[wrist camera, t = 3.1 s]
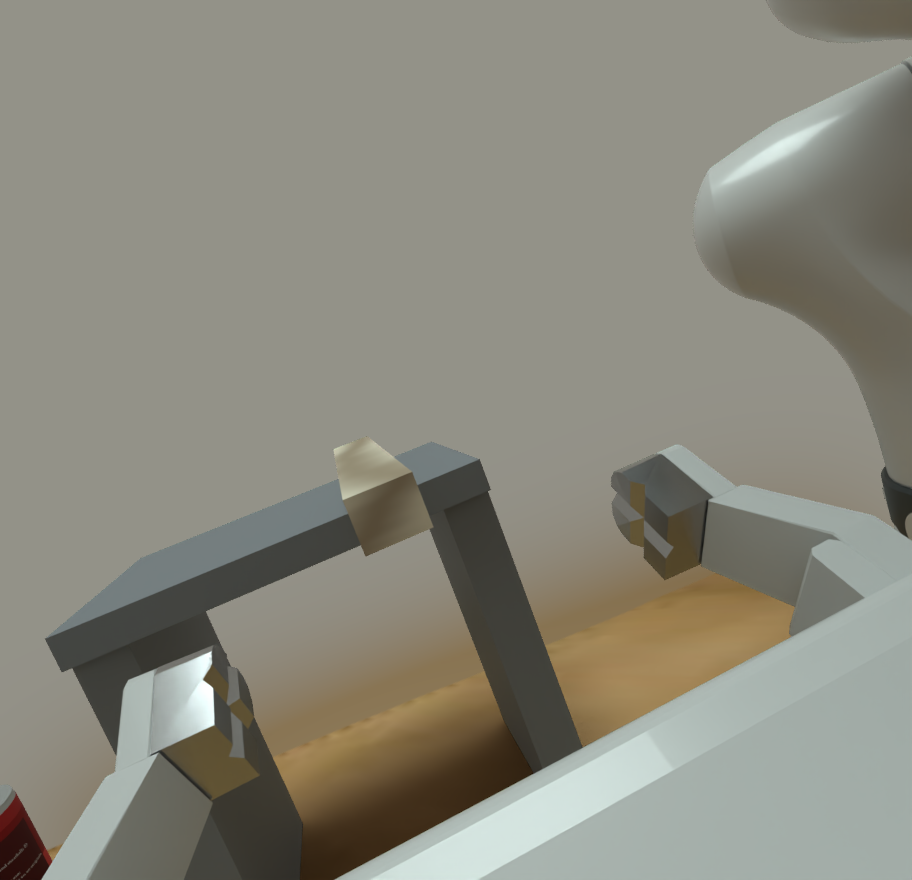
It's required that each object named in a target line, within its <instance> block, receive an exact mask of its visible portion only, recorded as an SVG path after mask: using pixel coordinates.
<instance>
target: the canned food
mask: <svg viewBox="0 0 912 880" xmlns="http://www.w3.org/2000/svg"><path fill="white" fill-rule="evenodd" d="M52 862H53V861H52V859H51V857H50V856H49V854H48V852H47V850H46V848H45V846H44V844H43V842H42V840H41V839H40V837H39V835H38V833H37V831H36V829H35V827H34V825H33V823H32V821H31V820H30V818H29V816H28V814H27V812H26V811H25V808H24V806H23V804H22V803H21V801H20V799H19V798H18V796H17V794H16V792H15V791H14V790H13V789H12V787H11V786H10V785H1V786H0V880H41V879H42V878H43V876H44V875H45V873H46V871H47V870H48V868H49V867H50V865H51V863H52Z"/></svg>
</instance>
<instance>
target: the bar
mask: <svg viewBox="0 0 912 880" xmlns="http://www.w3.org/2000/svg"><path fill="white" fill-rule="evenodd" d="M334 455H335V461H336V466H337V472H338V477H339V483H340V489H341V494H342V500H343V502H344V505H345V507H346V510H347V512H348V515H349V517H350V519H351V522H352V524H353V527H354V529H355V532H356V534H357V537H358V539H359V541H360V544H361V546H362V549H363V551H364V554H365V556H368V555H370V554H373V553H375V552H377V551H379V550H382V549H384V548H386V547H389V546H391V545H393V544H396V543H398V542H400V541H403V540H405V539H407V538H410V537H412V536H414V535H416V534H419V533H421V532H424V531H426V530H428V529H431V528H433V524H432V522H431V519H430V517H429V514H428V511H427V509H426V506H425V504H424V501H423V498H422V496H421V493H420V491H419V488H418V486H417V483H416V480H415V478H414V475H413V473H412V471H411V470H409V469H408V468H407V467H405V466H404V465H403V464H402V463H400V462H399V461H398V460H397V459H395V458H394V457H393V456H391V455H390V454H389V453H388V452H386V451H385V450H384V449H383V448H381V447H380V446H379V445H377V444H376V443H375V442H374V441H372V440H371V439H370V438H369V437H367V436H366V437H364V438H361V439H358V440H356V441H354V442H351V443H348V444H346V445H343V446H340V447H338V448H336V449H334Z"/></svg>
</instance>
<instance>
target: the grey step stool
mask: <svg viewBox="0 0 912 880" xmlns="http://www.w3.org/2000/svg"><path fill="white" fill-rule="evenodd" d="M394 458H395V459H397V460H398V461H399V462H400V463H402V464H403V465H404V466H405V467H407V468H408V469H409V470H411V471H412V473H413V475H414V478H415V480H416V483H417V486H418V488H419V491H420V493H421V496H422V498H423V501H424V504H425V506H426V509H427V511H428V514H429V517H430V519H431V522H432V524H433V528H431V529H430V532H431V534H432V536H433V539H434V542H435V544H436V547H437V550H438V552H439V555H440V557H441V560H442V562H443V565H444V568H445V570H446V573H447V575H448V578H449V580H450V583H451V586H452V588H453V591H454V593H455V596H456V598H457V601H458V603H459V606H460V609H461V611H462V614H463V616H464V619H465V622H466V624H467V627H468V629H469V632H470V634H471V637H472V640H473V642H474V644H475V647H476V650H477V652H478V655H479V657H480V660H481V663H482V665H483V668H484V670H485V673H486V676H487V678H488V681H489V683H490V686H491V688H492V691H493V694H494V696H495V699H496V701H497V704H498V706H499V709H500V712H501V714H502V717H503V719H504V721H505V723H506V725H507V727H508V729H509V730H510V732H511V734H512V736H513V737H514V739H515V741H516V743H517V745H518V746H519V748H520V750H521V752H522V753H523V755H524V757H525V759H526V761H527V762H528V764H529V766H530V768H531V769H532V771H533V773H536V772H538V771H540V770H542V769H544V768H545V767H547V766H549V765H551V764H553V763H555V762H557V761H559V760H560V759H562V758H564V757H566V756H568V755H570V754H572V753H574V752H576V751H577V750H579V749H581V748H582V745H581V742H580V740H579V737H578V734H577V731H576V729H575V726H574V723H573V721H572V718H571V715H570V712H569V710H568V707H567V704H566V702H565V699H564V696H563V694H562V691H561V688H560V685H559V683H558V680H557V677H556V675H555V672H554V669H553V666H552V664H551V661H550V658H549V656H548V653H547V650H546V648H545V645H544V642H543V639H542V637H541V634H540V631H539V629H538V626H537V623H536V620H535V618H534V615H533V612H532V610H531V607H530V604H529V602H528V599H527V596H526V593H525V591H524V588H523V585H522V583H521V580H520V578H519V575H518V572H517V569H516V566H515V564H514V561H513V558H512V556H511V553H510V550H509V548H508V545H507V542H506V540H505V537H504V534H503V531H502V529H501V526H500V523H499V520H498V518H497V515H496V512H495V510H494V507H493V504H492V502H491V499H490V496H489V493H488V491H489V490H491V489H490V486H489V484H488V481H487V478H486V476H485V473H484V470H483V467H482V465H481V462H480V459H477V458H474V457H472V456H469V455H466V454H464V453H461V452H458V451H455V450H452V449H450V448H447V447H444V446H441V445H439V444H436V443H433V442H430V443H427V444H425V445H422V446H420V447H417V448H415V449H412V450H410V451H408V452H405V453H402V454H400V455H397V456H395V457H394ZM360 545H361V544H360V541H359V539H358V537H357V534H356V532H355V529H354V527H353V524H352V522H351V519H350V517H349V515H348V512H347V510H346V507H345V505H344V502H343V500H342V494H341V489H340V483H339V479H337V480H335V481H332V482H330V483H328V484H325V485H322V486H320V487H318V488H315V489H313V490H310V491H308V492H305V493H302V494H300V495H298V496H295V497H292V498H290V499H287V500H285V501H283V502H280V503H277V504H275V505H272V506H270V507H267V508H265V509H262V510H260V511H258V512H255V513H253V514H250V515H248V516H245V517H243V518H240V519H237V520H235V521H233V522H230V523H227V524H225V525H222V526H220V527H218V528H215V529H212V530H210V531H207V532H205V533H203V534H200V535H198V536H195V537H193V538H190V539H187V540H185V541H183V542H180V543H178V544H175V545H173V546H170V547H168V548H165V549H163V550H160V551H158V552H155V553H153V554H150V555H148V556H145V557H143V558H140V559H139V560H138V561H137V562H136V563H135V564H133V565H132V566H131V567H130V568H129V569H127V570H126V571H125V572H124V573H123V574H122V575H120V576H119V577H118V578H117V579H116V580H114V581H113V582H112V583H111V584H110V585H109V586H107V587H106V588H105V589H104V590H102V591H101V592H100V593H99V594H98V595H97V596H95V597H94V598H93V599H92V600H91V601H90V602H88V603H87V604H86V605H85V606H83V607H82V608H81V609H80V610H79V611H78V612H76V613H75V614H74V615H73V616H72V617H70V618H69V619H68V620H67V621H66V622H65V623H63V624H62V625H61V626H60V627H59V628H57V629H56V630H55V631H54V632H53V633H51V634H50V635H49V636H48V637H47V638H46V639H45V640H46V642H47V644H48V646H49V648H50V650H51V652H52V654H53V656H54V658H55V660H56V661H57V664H58V666H59V667H60V670H61V672H64V671H66V670H68V669H71V668H73V670H74V673H75V675H76V677H77V679H78V681H79V683H80V684H81V686H82V689H83V691H84V692H85V694H86V697H87V698H88V701H89V702H90V704H91V706H92V708H93V710H94V712H95V714H96V716H97V718H98V720H99V722H100V724H101V726H102V728H103V730H104V732H105V734H106V736H107V738H108V740H109V742H110V744H111V746H112V748H113V750H114V752H115V754H116V756H117V746H118V736H119V726H120V717H121V707H122V697H123V690H124V687H125V685H126V683H127V682H128V680H130V679H132V678H135V677H137V676H139V675H142V674H144V673H147V672H149V671H152V670H154V669H157V668H158V667H160V666H163V665H165V664H168V663H170V662H173V661H175V660H178V659H180V658H183V657H185V656H188V655H190V654H193V653H195V652H198V651H200V650H202V649H205V648H207V647H210V646H212V645H217V644H218V645H219V646H220V647H221V648H222V646H221V644H220V642H219V640H218V638H217V635H216V633H215V631H214V629H213V627H212V624H211V623H210V620H209V618H208V616H207V613H206V611H207V610H210V609H212V608H214V607H217V606H219V605H221V604H223V603H226V602H228V601H231V600H233V599H235V598H238V597H240V596H243V595H245V594H247V593H250V592H252V591H254V590H256V589H259V588H261V587H264V586H266V585H268V584H271V583H273V582H275V581H278V580H280V579H282V578H285V577H287V576H290V575H292V574H294V573H297V572H299V571H301V570H304V569H306V568H308V567H311V566H313V565H315V564H318V563H320V562H322V561H325V560H327V559H329V558H332V557H334V556H336V555H339V554H341V553H343V552H346V551H348V550H351V549H353V548H355V547H358V546H360ZM222 650H223V648H222ZM223 651H224V650H223ZM227 666H230V664H229V662H228V659H227ZM230 667H231V666H230ZM248 730H249V731H250V732H251V734H252V735H253V736H254V737H255V739H256V740H257V750H258V760H259V770H260V776H258V777H256V778H254V779H252V780H250V781H248V782H246V783H244V784H242V785H240V786H239V787H237V788H235V789H233V790H231V791H229V792H227V793H225V794H223V795H221V796H219V797H217V798H215V799H213V800H211V801H212V802H213V804H212V807H211V810H210V812H209V815H208V817H207V820H206V823H205V825H204V828H203V831H202V833H201V836H200V838H199V841H198V844H197V846H196V849H195V851H194V854H193V857H192V859H191V862H190V865H189V867H188V870H187V872H186V875H185V878H184V880H300V866H301V847H302V828H303V823H302V821H301V818H300V816H299V814H298V812H297V810H296V808H295V805H294V803H293V801H292V799H291V797H290V794H289V792H288V790H287V788H286V786H285V784H284V781H283V779H282V777H281V775H280V773H279V770H278V768H277V766H276V764H275V762H274V760H273V757H272V755H271V753H270V751H269V749H268V747H267V744H266V742H265V740H264V738H263V736H262V734H261V731H260V729H259V727H258V725H257V723H256V720H255V718H253V720H252V722H251V724H250V726H249V728H248Z"/></svg>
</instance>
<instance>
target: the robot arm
mask: <svg viewBox="0 0 912 880" xmlns="http://www.w3.org/2000/svg"><path fill="white" fill-rule="evenodd" d="M766 1H767V4H768V6H769V7H770V9H771V11H772V13H773V14H774V15H775V17H776V18H777V19H778V20H779V21H780V22H781V23H782V24H784V25H785V26H786V27H787V28H788V29H790V30H792V31H794V32H795V33H797V34H800V35H803V36H805V37H809V38H813V39H817V40H822V41H826V42H836V43H860V42H871V41H882V40H895V39H905V40H912V0H766ZM693 233H694V239H695V244H696V247H697V251H698V253H699V255H700V257H701V260H702V262H703V264H704V265H705V267H706V268H707V270H708V271H709V272H710V274H711V275H712V276H713V277H714V278H715V279H716V280H717V281H718V282H719V283H720V284H721V285H723V286H724V287H726V288H727V289H729V290H730V291H732V292H734V293H736V294H738V295H740V296H742V297H745V298H748V299H752V300H756V301H760V302H763V303H765V304H769V305H771V306H774V307H776V308H779V309H781V310H783V311H785V312H787V313H789V314H791V315H793V316H795V317H797V318H798V319H800V320H802V321H803V322H805V323H806V324H808V325H809V326H811V327H812V328H813V329H815V330H816V331H817V332H818V333H820V334H821V335H822V336H823V337H824V338H825V339H826V340H827V341H828V342H829V343H830V344H831V345H832V346H833V347H834V348H835V349H836V350H837V351H838V353H839V354H840V355H841V356H842V358H843V359H844V360H845V362H846V363H847V365H848V366H849V368H850V370H851V371H852V373H853V375H854V377H855V379H856V381H857V383H858V385H859V388H860V390H861V392H862V395H863V397H864V400H865V402H866V405H867V408H868V410H869V413H870V416H871V419H872V422H873V425H874V428H875V431H876V434H877V437H878V440H879V444H880V448H881V451H882V455H883V458H884V462H885V467H884V469H883V470H882V473H881V478H882V483H883V487H884V488H882V489H883V494H884V499H886V501H887V505H888V509H889V513H890V517H891V520H892V522H893V523H894V529H893V528H892V527H890V526H889V525H887V524H886V523H884V522H883V521H881V520H880V519H878V518H877V517H875V516H873V515H870V514H865V513H861V512H857V511H852V510H848V509H844V508H840V507H835V506H831V505H827V504H823V503H819V502H814V501H810V500H806V499H802V498H798V497H794V496H789V495H785V494H781V493H777V492H772V491H768V490H764V489H760V488H756V487H751V486H747V485H741V486H738V487H736V486H735V485H734V484H732V483H731V482H730V481H728V480H727V479H725V478H724V477H723V476H722V475H720V474H719V473H718V472H716V471H715V470H714V469H712V468H711V467H710V466H709V465H707V464H706V463H705V462H703V461H702V460H701V459H700V458H698V457H697V456H696V455H694V454H693V453H692V452H690V451H689V450H688V449H686V448H685V447H684V446H681V445H678V444H676V445H674V446H672V447H669V448H667V449H665V450H663V451H660V452H658V453H656V454H653V455H651V456H648V457H646V458H644V459H642V460H639V461H637V462H635V463H633V464H630V465H628V466H626V467H624V468H621V469H619V470H617V471H615V472H614V473H613V475H612V477H611V482H612V483H611V484H612V485H611V486H612V488H613V489H614V490H615V491H616V492H617V494H616V496H615V498H614V500H613V502H612V511H613V516H614V519H615V521H616V524H617V526H618V528H619V529H620V531H621V533H622V534H623V535H624V537H625V538H626V539H627V540H628V541H629V542H630V543H631V544H634V545H637V546H640V547H644V559H645V560H646V561H647V562H648V563H649V564H650V565H651V566H652V567H653V568H654V569H655V570H656V571H657V572H658V573H659V574H660V576H661V577H662V578H663V579H664V580H666V579H669V578H671V577H673V576H675V575H678V574H680V573H682V572H684V571H687V570H689V569H691V568H693V567H696V566H698V565H700V564H701V566H702V567H704V568H706V569H709V570H711V571H713V572H715V573H718V574H720V575H722V576H725V577H727V578H729V579H732V580H734V581H736V582H739V583H741V584H743V585H746V586H748V587H750V588H752V589H755V590H757V591H759V592H762V593H764V594H766V595H769V596H771V597H773V598H776V599H778V600H780V601H783V602H785V603H787V604H790V605H792V606H794V607H795V609H794V613H793V616H792V620H791V623H790V630H789V634H790V635H791V636H792V637H791V638H789V639H787V640H785V641H783V642H781V643H779V644H777V645H775V646H774V647H772V648H770V649H768V650H766V651H764V652H762V653H760V654H758V655H757V656H755V657H753V658H751V659H749V660H747V661H745V662H743V663H742V664H740V665H738V666H736V667H734V668H732V669H730V670H728V671H726V672H725V673H723V674H721V675H719V676H717V677H715V678H713V679H711V680H709V681H708V682H706V683H704V684H702V685H700V686H698V687H696V688H694V689H692V690H691V691H689V692H687V693H685V694H683V695H681V696H679V697H677V698H675V699H674V700H672V701H670V702H668V703H666V704H664V705H662V706H660V707H659V708H657V709H655V710H653V711H651V712H649V713H647V714H645V715H643V716H642V717H640V718H638V719H636V720H634V721H632V722H630V723H628V724H626V725H625V726H623V727H621V728H619V729H617V730H615V731H613V732H611V733H609V734H608V735H606V736H604V737H602V738H600V739H598V740H596V741H594V742H593V743H591V744H589V745H587V746H585V747H583V748H581V749H579V750H577V751H576V752H574V753H572V754H570V755H568V756H566V757H564V758H562V759H560V760H559V761H557V762H555V763H553V764H551V765H549V766H547V767H545V768H544V769H542V770H540V771H538V772H536V773H534V774H532V775H530V776H528V777H527V778H525V779H523V780H521V781H519V782H517V783H515V784H513V785H512V786H510V787H508V788H506V789H504V790H502V791H500V792H498V793H496V794H495V795H493V796H491V797H489V798H487V799H485V800H483V801H481V802H480V803H478V804H476V805H474V806H472V807H470V808H468V809H466V810H464V811H463V812H461V813H459V814H457V815H455V816H453V817H451V818H449V819H448V820H446V821H444V822H442V823H440V824H438V825H436V826H434V827H433V828H431V829H429V830H427V831H425V832H423V833H421V834H419V835H417V836H416V837H414V838H412V839H410V840H408V841H406V842H404V843H402V844H401V845H399V846H397V847H395V848H393V849H391V850H389V851H387V852H385V853H384V854H382V855H380V856H378V857H376V858H374V859H372V860H370V861H369V862H367V863H365V864H363V865H361V866H359V867H357V868H355V869H353V870H352V871H350V872H348V873H346V874H344V875H342V876H340V877H338V878H337V879H335V880H912V56H911V57H909V58H908V59H906V60H904V61H902V62H901V64H899V65H897V66H895V67H893V68H891V69H889V70H887V71H885V72H883V73H880V74H878V75H876V76H874V77H872V78H870V79H868V80H866V81H863V82H862V83H859V84H857V85H855V86H853V87H851V88H849V89H847V90H844V91H843V92H840V93H838V94H836V95H834V96H832V97H829V98H827V99H825V100H823V101H821V102H819V103H817V104H815V105H813V106H810V107H809V108H806V109H804V110H802V111H800V112H798V113H796V114H793V115H791V116H789V117H787V118H785V119H783V120H781V121H778V122H776V123H775V124H774V125H772V126H770V127H769V128H767V129H766V130H764V131H763V132H761V133H760V134H758V135H757V136H755V137H754V138H753V139H751V140H749V141H748V142H746V143H745V144H743V145H742V146H741V147H739V148H738V149H736V150H735V151H733V152H732V153H731V154H729V155H728V156H726V157H725V158H724V159H722V160H721V161H720V162H718V163H717V164H715V165H714V166H713V167H711V168H710V169H709V170H708V172H707V174H706V176H705V178H704V180H703V182H702V184H701V186H700V189H699V192H698V195H697V199H696V202H695V207H694V214H693ZM253 718H254V712H253V704H252V699H251V696H250V692H249V689H248V686H247V684H246V682H245V680H244V678H243V676H242V675H241V673H240V672H239V670H238V669H237V668H234V667H230V666H227V654H226V653H225V652H224V651H223V650H222V648H221V647H220V646H219V645H218V644H217V645H212V646H210V647H207V648H205V649H202V650H200V651H198V652H195V653H193V654H190V655H188V656H185V657H183V658H180V659H178V660H175V661H173V662H170V663H168V664H165V665H163V666H160V667H158V668H157V669H154V670H152V671H149V672H147V673H144V674H142V675H139V676H137V677H135V678H132V679H130V680H128V682H127V683H126V685H125V687H124V690H123V697H122V707H121V717H120V726H119V736H118V746H117V756H116V765H115V766H116V767H115V773H113V774H110V775H108V776H106V777H105V779H104V780H103V782H102V784H101V785H100V787H99V788H98V790H97V792H96V793H95V795H94V796H93V798H92V799H91V801H90V803H89V804H88V806H87V807H86V809H85V811H84V812H83V814H82V815H81V817H80V819H79V820H78V822H77V823H76V825H75V827H74V828H73V830H72V831H71V833H70V835H69V836H68V838H67V840H66V841H65V843H64V844H63V846H62V847H61V849H60V851H59V852H58V854H57V855H56V857H55V859H54V860H53V862H52V863H51V865H50V867H49V868H48V870H47V871H46V873H45V875H44V876H43V878H42V879H41V880H184V878H185V875H186V872H187V870H188V867H189V865H190V862H191V859H192V857H193V854H194V851H195V849H196V846H197V844H198V841H199V838H200V836H201V833H202V831H203V828H204V825H205V823H206V820H207V817H208V815H209V812H210V810H211V807H212V804H213V802H212V801H211V800H213V799H215V798H217V797H219V796H221V795H223V794H225V793H227V792H229V791H231V790H233V789H235V788H237V787H239V786H240V785H242V784H244V783H246V782H248V781H250V780H252V779H254V778H256V777H258V776H260V770H259V760H258V750H257V740H256V739H255V737H254V736H253V735H252V734H251V732H250V731H249V730H248V728H249V726H250V724H251V722H252V720H253Z"/></svg>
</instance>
